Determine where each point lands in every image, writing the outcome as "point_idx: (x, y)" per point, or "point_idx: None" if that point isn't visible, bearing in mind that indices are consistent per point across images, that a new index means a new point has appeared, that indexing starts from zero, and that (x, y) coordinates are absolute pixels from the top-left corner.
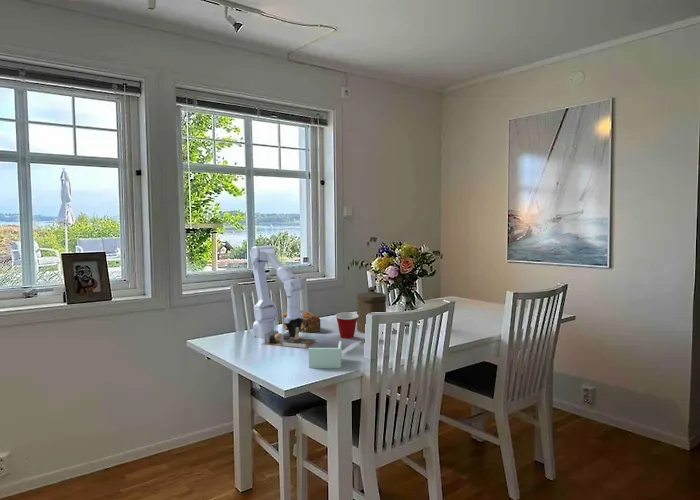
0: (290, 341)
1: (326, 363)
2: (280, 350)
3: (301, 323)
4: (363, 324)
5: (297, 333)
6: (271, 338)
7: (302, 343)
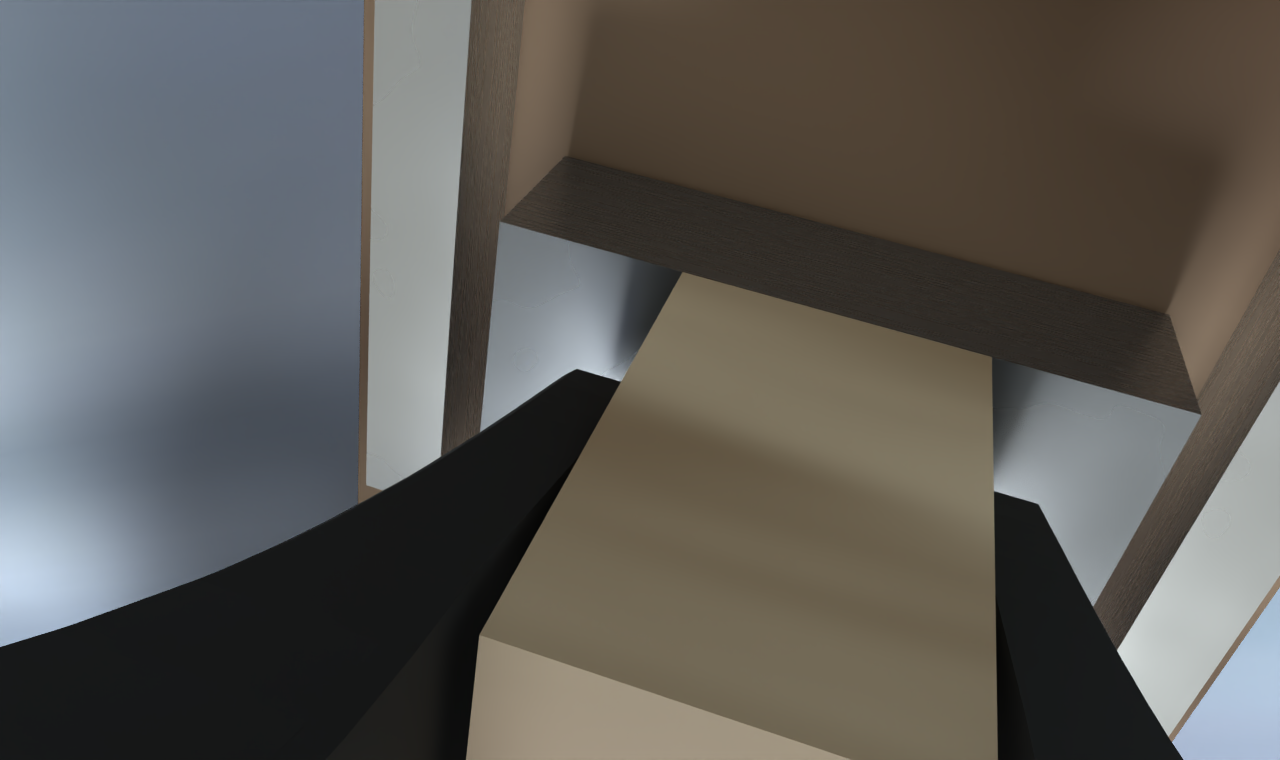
0: (1119, 525)
1: None
2: (1270, 615)
3: (43, 663)
4: None
5: (768, 459)
6: None
7: (768, 42)
